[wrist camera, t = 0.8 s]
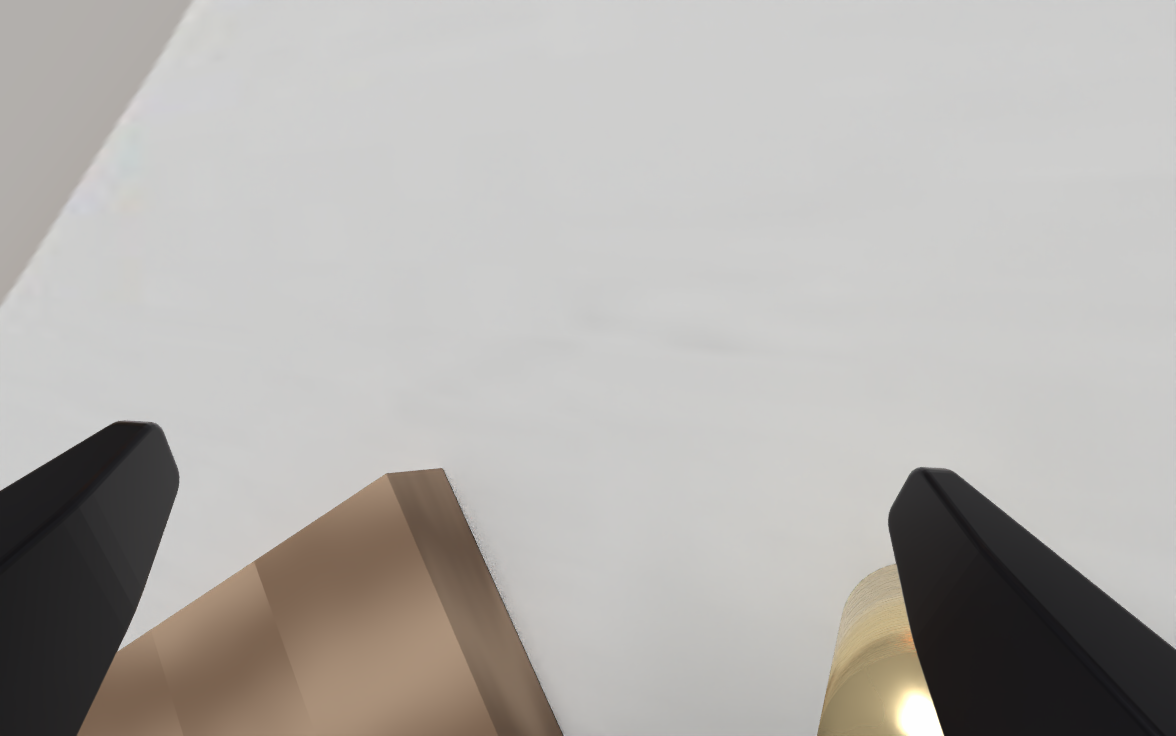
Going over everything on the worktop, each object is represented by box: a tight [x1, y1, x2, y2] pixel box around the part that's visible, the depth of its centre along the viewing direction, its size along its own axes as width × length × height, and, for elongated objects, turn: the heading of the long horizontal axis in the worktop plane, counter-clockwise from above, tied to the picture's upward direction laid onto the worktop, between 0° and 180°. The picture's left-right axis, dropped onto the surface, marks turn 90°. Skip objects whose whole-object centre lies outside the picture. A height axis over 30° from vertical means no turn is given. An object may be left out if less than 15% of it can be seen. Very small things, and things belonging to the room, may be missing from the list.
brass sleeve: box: [817, 564, 944, 736], centre depth 15 cm, size 4×4×8 cm
